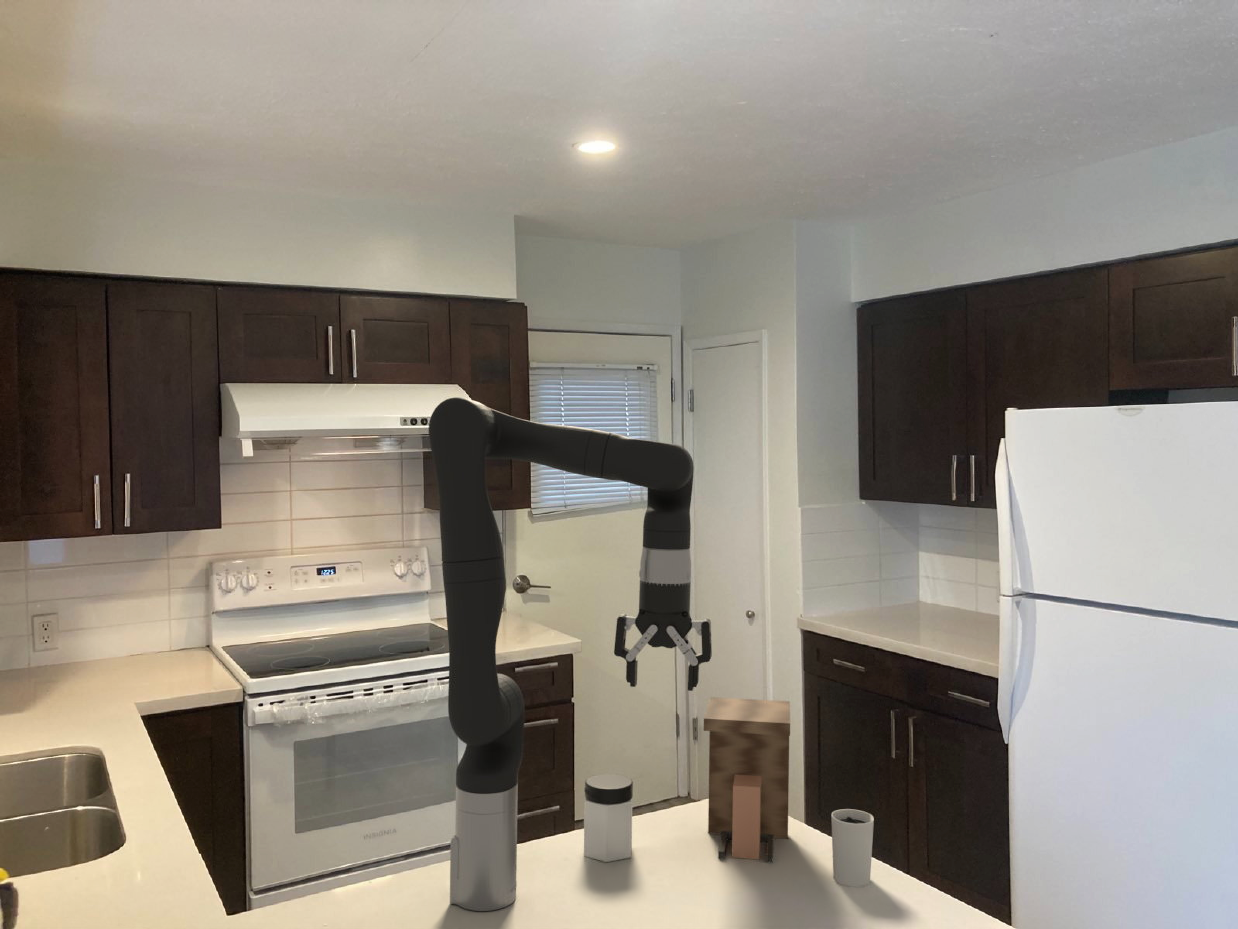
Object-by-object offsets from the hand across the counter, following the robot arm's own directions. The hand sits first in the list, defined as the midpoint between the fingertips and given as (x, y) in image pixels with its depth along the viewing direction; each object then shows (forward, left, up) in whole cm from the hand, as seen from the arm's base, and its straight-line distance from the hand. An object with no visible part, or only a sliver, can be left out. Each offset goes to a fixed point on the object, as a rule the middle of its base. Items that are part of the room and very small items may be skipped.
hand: (661, 687), depth 146 cm
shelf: (+12, +24, -33) cm, 42 cm away
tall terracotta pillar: (+12, +24, -33) cm, 42 cm away
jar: (-11, +19, -33) cm, 40 cm away
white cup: (+29, +16, -33) cm, 47 cm away
